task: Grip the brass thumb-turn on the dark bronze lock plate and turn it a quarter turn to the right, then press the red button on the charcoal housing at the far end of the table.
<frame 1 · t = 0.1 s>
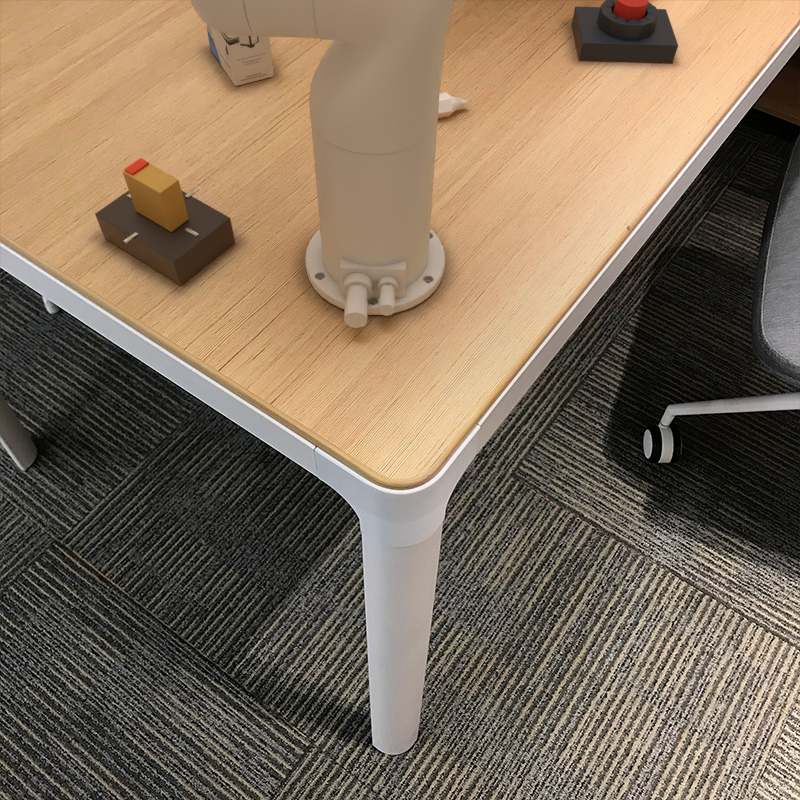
ink box: (242, 64, 88), on the table
marker: (402, 123, 82), on the table
bell button: (630, 6, 88), point 4 cm above the table, slide at 0.1 cm
lock plate: (170, 240, 71), on the table
lock knob: (156, 194, 67), point 5 cm above the table, hinge at 0.0°
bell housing: (620, 43, 92), on the table
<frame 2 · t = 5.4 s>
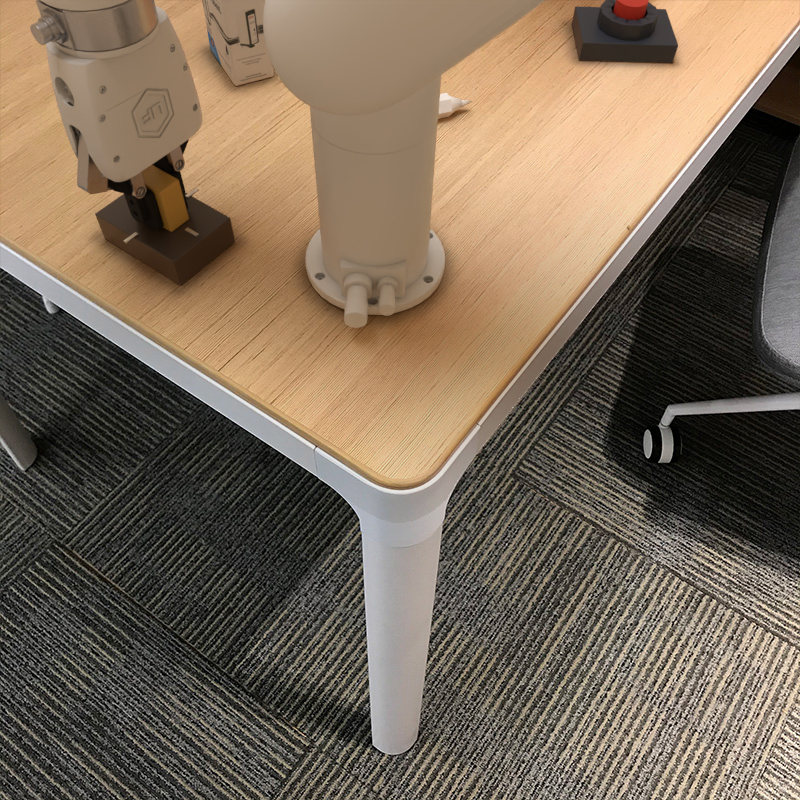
hand: (161, 212, 68), 3 cm above the table, tool pointing down, fingers closed on lock knob, 2 cm apart
lock knob: (156, 194, 67), point 5 cm above the table, hinge at 0.0°, touching gripper
everything else where it was.
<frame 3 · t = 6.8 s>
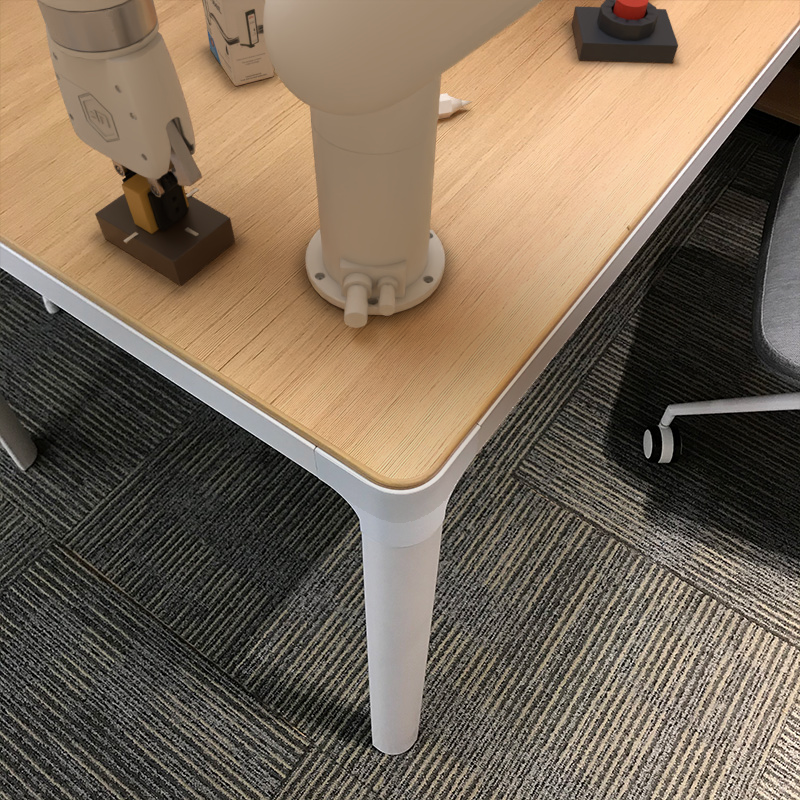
hand: (161, 212, 69), 3 cm above the table, tool pointing down, fingers closed on lock knob, 2 cm apart
lock knob: (156, 194, 67), point 5 cm above the table, hinge at -89.9°, touching gripper
everything else where it was.
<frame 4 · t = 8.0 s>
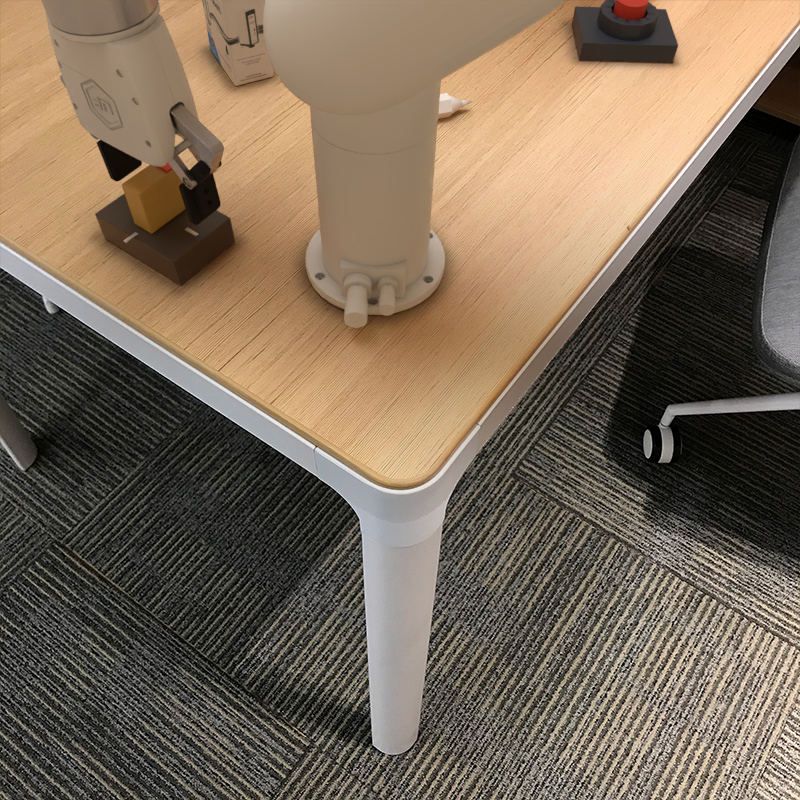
hand: (165, 193, 67), 6 cm above the table, tool pointing down, fingers open, 9 cm apart
lock knob: (156, 194, 67), point 5 cm above the table, hinge at -90.0°
everything else where it was.
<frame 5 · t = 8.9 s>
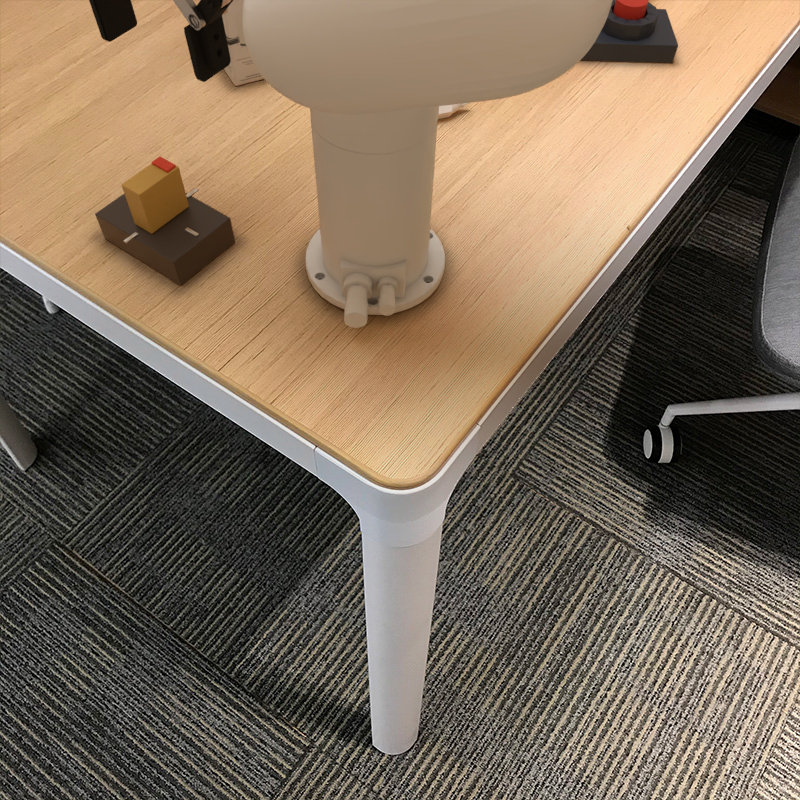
hand: (166, 52, 58), 18 cm above the table, tool pointing down, fingers open, 9 cm apart
nothing on the table moved.
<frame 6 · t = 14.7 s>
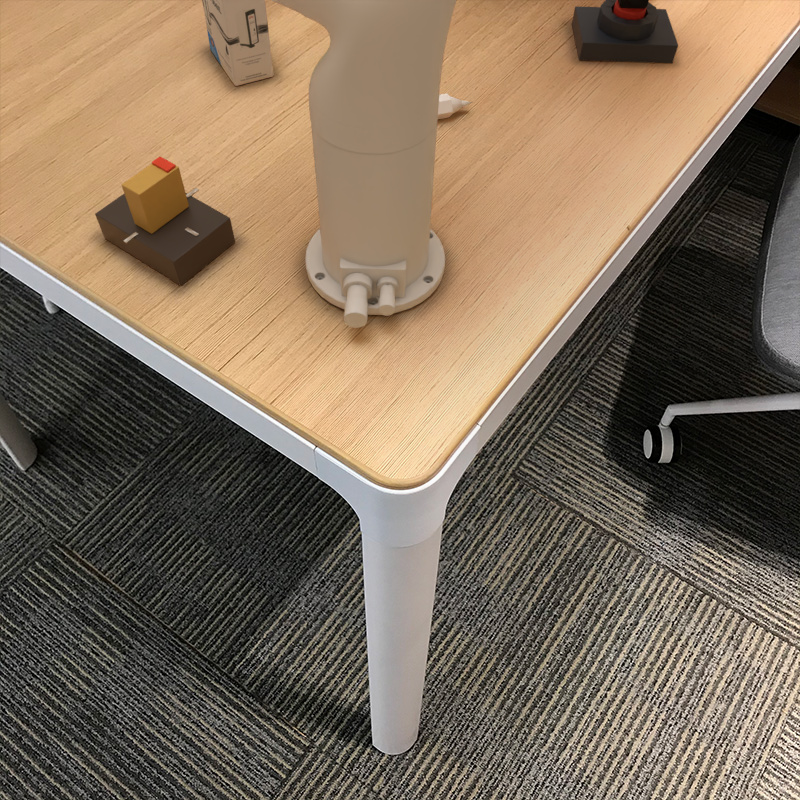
hand: (631, 4, 88), 5 cm above the table, tool pointing down, fingers closed
bell button: (628, 12, 89), point 4 cm above the table, slide at -0.7 cm, touching gripper
everything else where it was.
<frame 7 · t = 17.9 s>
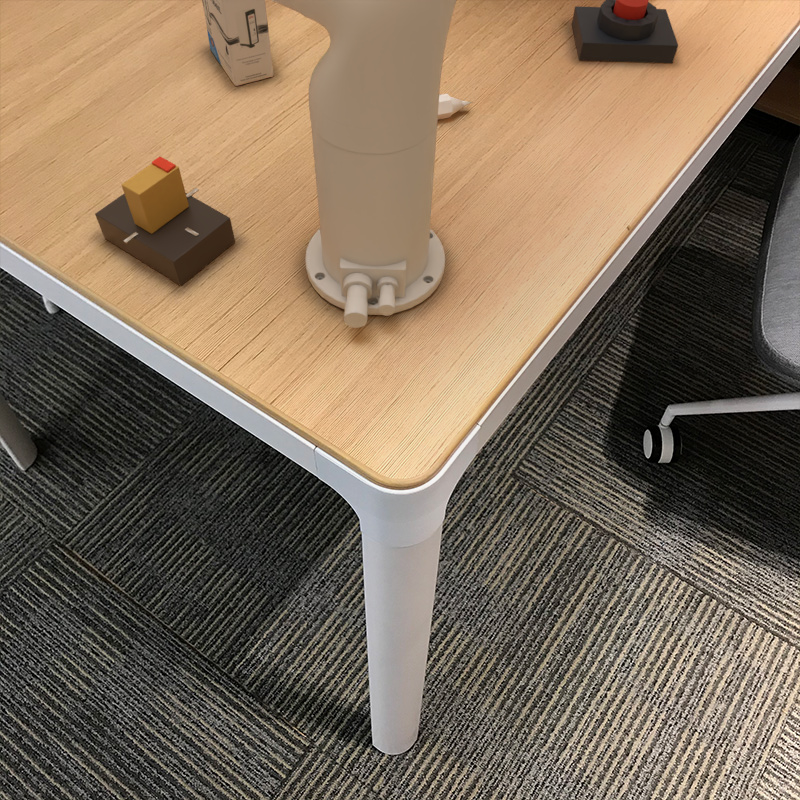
bell button: (630, 6, 88), point 4 cm above the table, slide at 0.1 cm
everything else where it was.
at the end: lock knob at -90° (first picture: +0°); bell button pushed in 1.1 cm at the most during the clip, back to where it started at the end; bell button slide at 0.1 cm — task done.
